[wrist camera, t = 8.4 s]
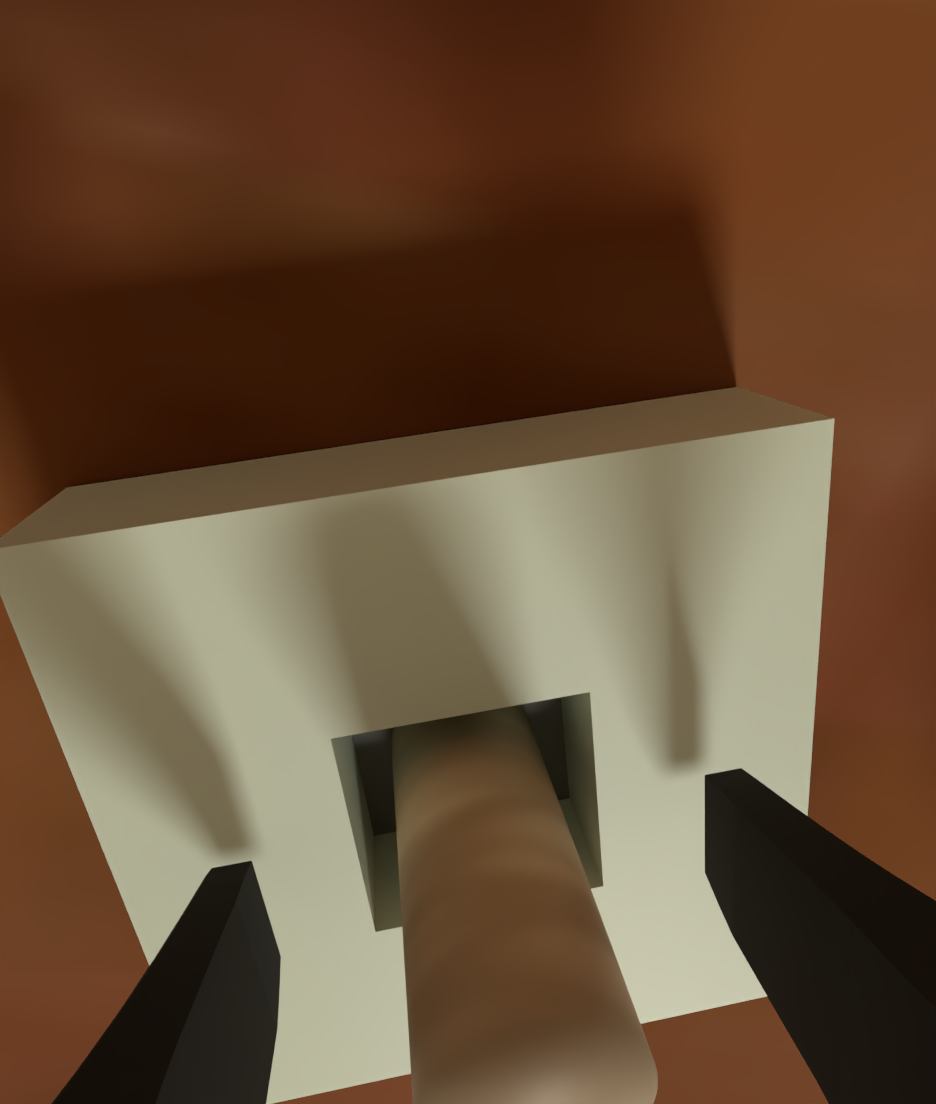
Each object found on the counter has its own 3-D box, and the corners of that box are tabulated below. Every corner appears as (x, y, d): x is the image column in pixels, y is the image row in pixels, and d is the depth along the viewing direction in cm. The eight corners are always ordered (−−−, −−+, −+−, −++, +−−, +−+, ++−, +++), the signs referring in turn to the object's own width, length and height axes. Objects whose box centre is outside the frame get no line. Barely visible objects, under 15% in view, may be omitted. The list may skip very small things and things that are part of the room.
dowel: (519, 664, 14) (648, 990, 8) (537, 779, 15) (665, 1150, 9) (378, 694, 14) (391, 1054, 8) (406, 808, 15) (438, 1208, 9)
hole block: (737, 386, 13) (834, 418, 11) (729, 878, 18) (795, 990, 15) (66, 487, 13) (-18, 550, 10) (235, 978, 17) (210, 1117, 14)
